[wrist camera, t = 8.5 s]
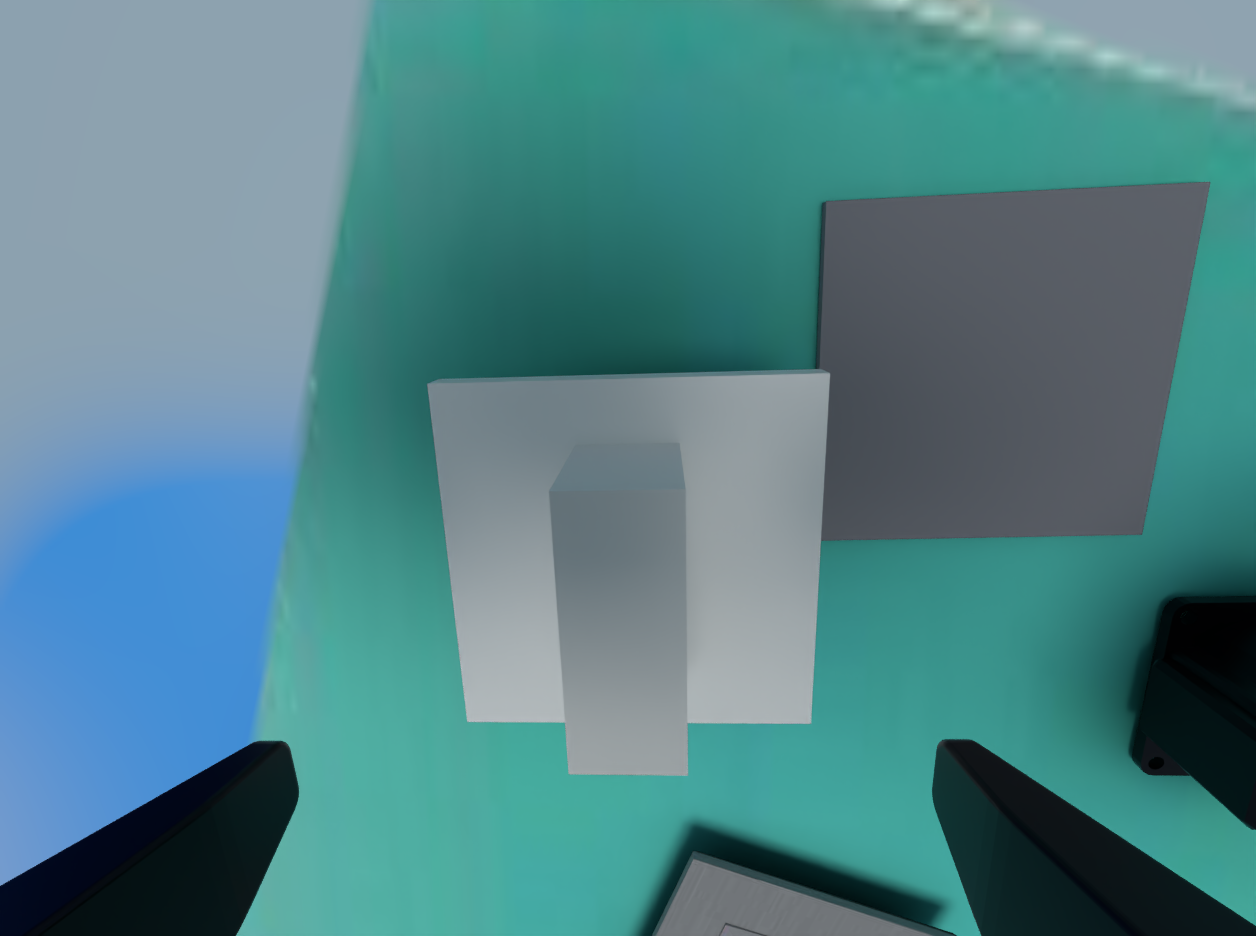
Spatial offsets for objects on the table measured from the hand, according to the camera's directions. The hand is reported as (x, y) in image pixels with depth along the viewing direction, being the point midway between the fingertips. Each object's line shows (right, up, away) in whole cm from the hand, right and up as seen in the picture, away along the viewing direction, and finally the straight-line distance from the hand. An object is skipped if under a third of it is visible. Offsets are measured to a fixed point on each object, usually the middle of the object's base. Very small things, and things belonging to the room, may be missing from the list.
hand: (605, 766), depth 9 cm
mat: (+11, +7, +10) cm, 16 cm away
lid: (0, +2, +7) cm, 8 cm away
